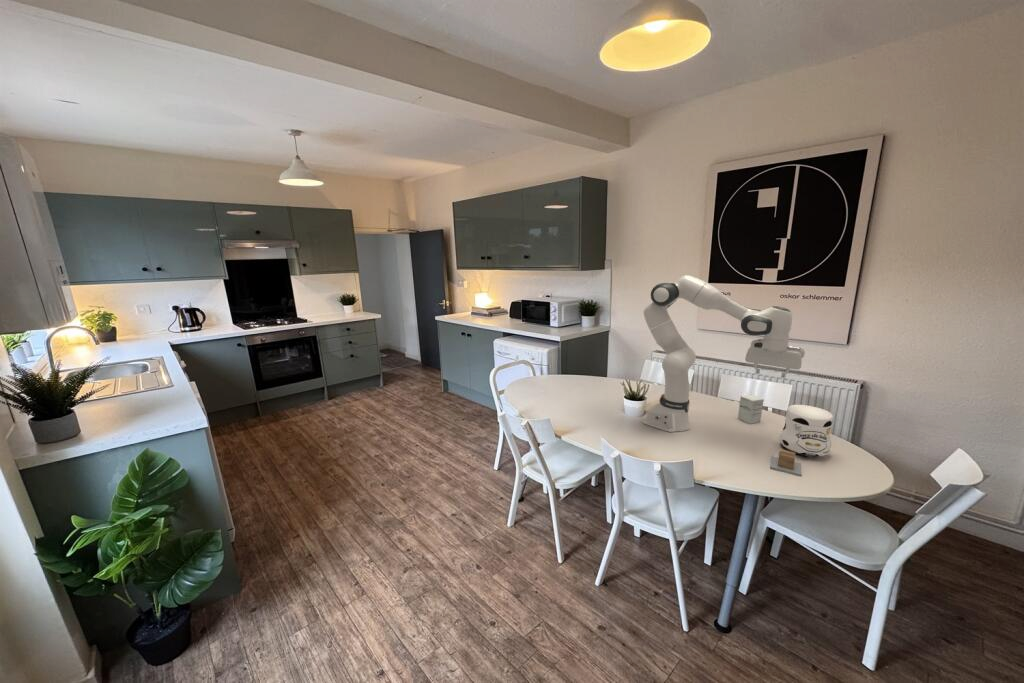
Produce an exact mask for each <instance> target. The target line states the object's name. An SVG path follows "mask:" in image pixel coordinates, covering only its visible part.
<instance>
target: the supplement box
mask: <svg viewBox="0 0 1024 683" xmlns="http://www.w3.org/2000/svg"><path fill="white" fill-rule="evenodd" d="M764 401H765V400H764V398H762V397H760V396H756V395H755V394H754V395H753V394H751V393H750V394H743V395H740V400H739V405H738V407H739V408H738V414H737V415H738V416H737V419H739V420H741V421H743V422H745V423H747V424H749V425H751V424H752V425H753V424H757V423H760V422H761V420H762V412H763V408H764V407H763V406H764Z"/></svg>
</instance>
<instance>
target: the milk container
mask: <svg viewBox="0 0 1024 683" xmlns="http://www.w3.org/2000/svg"><path fill="white" fill-rule="evenodd" d="M785 414H786V415H785V424H784V427H783V428H782V430H781V432H780V443H781V445H782V446H783V447H784V448H786V450H787V451H790V452H794V453H795V454H798V455H800V456H806V457H813V458H822V457H824V456H827V455H829V453H830V451H831V448H832V440H831V432H832V428H833V422H834V416H833V414H832V413H831V412H830V411H828V410H826V409H823V408H820V407H816V406H813V405H806V404H793V405H792V404H791V405H789V406H787V410H786V413H785Z"/></svg>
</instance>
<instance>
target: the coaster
mask: <svg viewBox="0 0 1024 683" xmlns="http://www.w3.org/2000/svg"><path fill="white" fill-rule="evenodd" d="M778 459H779V456H773V455H771V456H770V465H769V469H770V470H774V471H779V472H783V473H785V474H786V473H787V474H790V475H794V476H798V477H802V475H803V474H802V463H801V462H798V461H795V462H794V468H793V469H789V468H785V467H781V466H778Z"/></svg>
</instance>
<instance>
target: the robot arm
mask: <svg viewBox="0 0 1024 683" xmlns="http://www.w3.org/2000/svg"><path fill="white" fill-rule="evenodd" d="M650 299H651V301H652V302H651V304H648V305H647V306H646V307H645V308H644V310H643V316H644V319H645V322H646V324H647V327H648V329H649V331H650V334H651V335H652V337H653V338H654V339H653V340H655V343H656V344H657V345H658V346H659V347H661V349H662V350H663V351H664V352H665V354H666V355H665V357H664V358H663V360H662V363H661V368H662V370H663V374H664V393H662V394H661V395H660V397H659V400H658V401H659V402H658V403H655V404H654V405H651V407H649V409H648V410H647V412H646V414H644V415H643V416H642V418H641V423H642V424H643V425H646V426H649V427H653V428H656V429H659V430H661V431H665V432H669V433H674V432H685V431H688V430H689V429H690V428H691V427H690V426H691V425H690V422H689V411H690V398H689V396H690V386H691V385H690V381H689V370H690V368H691V367H692V366H694V364H695V361H696V359H697V356H696V352H695V351H694V350H693V348H691V347H690V346H689V345H688V343H687V342H686V340H684V339H683V337H682V336H681V335H680V332H679V331H678V330H677V327H676V326H675V323H674V322H673V320H672V318H671V316H670V314H669V312H668V309H669V308H670V307H671V306H672V305H673V304H674V303H675V302H676V301H677V300H678V299H683V300H685V301H686V302H688V303H690V304H693V305H694V306H696V307H699V308H701V309H703V310H714V311H715V310H716V311H720V312H723V313H725V314H727V315H729V316H731V317H732V318H735V319H737V321H739V322H740V328H741V331H742V332H743V333H744V334H746V335H748V336H764V337H763V338H758V339H753V340H751V343H750V346H749V347H748V349H747V352H746V355H745V359H744V360H745V362H746V363H750V364H753V367H754V369H755V374H758V375H759V374H760V371H761V369H760V368H759V367H758V365H763V366H770V367H777V368H782V369H783V368H785V372H781V376H780V378H784V379H785V378H786V377H787V376H786V375H787V374H789V372H790V371H791V370H797V371H798V370H800V369H801V368H802V361H803V358H804V357H805V353H806V351H805V350H804V349H802V347H799V346H798V347H795V346H792V345H791V346H790V345H789V341H790V336H789V335H790V331H791V329H792V324H793V313H792V312H791V310H790V309H788V308H785V307H782V306H776V305H773V306H771V307H768V308H766V309H763V310H761V309H756V308H749V307H746V306H745V305H742V304H740V303H738V302H736V301H735V300H733V299H731V298H729V297H728V296H726V295H725V294H724V293H723V292H721V291H720V290H719V289H718V288H716V287H715V286H713V285H711V284H710V283H709V282H706V281H705V280H702V279H700V278H697V277H695V276H692V275H690V274H689V275H688V274H685V275H682V276H681V277H680V278H678V280H677V281H676V282H675V283H673V282H672V283H671V282H661V283H658V284H656V285H655V286H654V287H652V289H651V291H650Z"/></svg>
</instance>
